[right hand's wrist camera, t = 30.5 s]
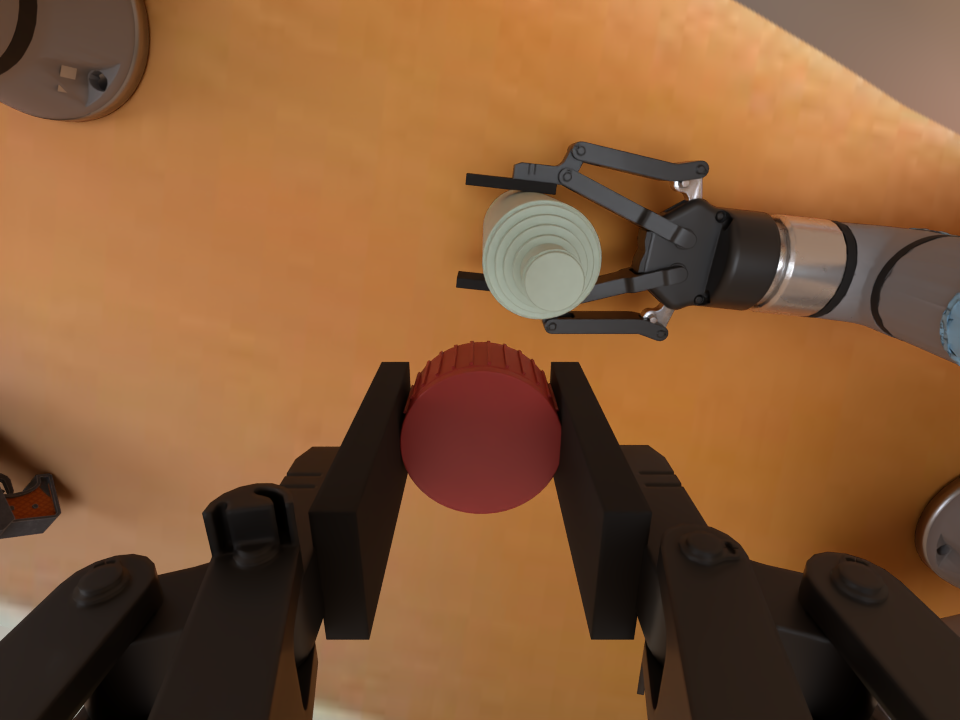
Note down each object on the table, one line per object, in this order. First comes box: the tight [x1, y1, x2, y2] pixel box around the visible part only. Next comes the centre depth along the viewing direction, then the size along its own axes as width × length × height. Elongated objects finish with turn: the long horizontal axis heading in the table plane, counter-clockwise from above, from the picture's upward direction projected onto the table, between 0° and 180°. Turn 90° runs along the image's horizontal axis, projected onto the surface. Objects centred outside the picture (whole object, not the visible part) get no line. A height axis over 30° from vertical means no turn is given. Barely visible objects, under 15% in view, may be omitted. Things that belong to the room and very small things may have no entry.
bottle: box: [482, 190, 602, 319], centre depth 35 cm, size 7×7×23 cm
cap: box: [400, 341, 561, 514], centre depth 14 cm, size 4×4×2 cm
